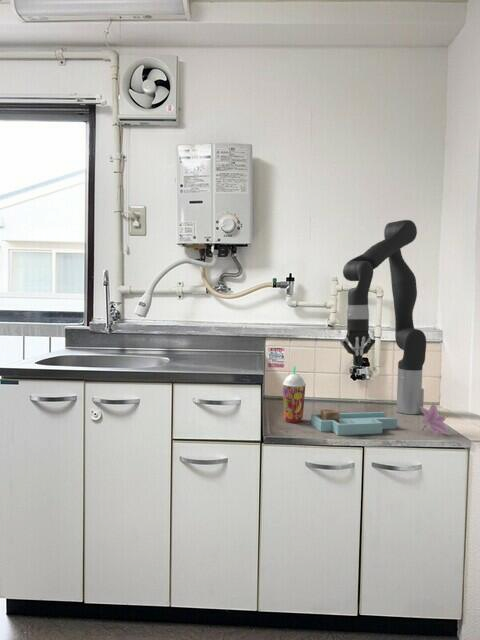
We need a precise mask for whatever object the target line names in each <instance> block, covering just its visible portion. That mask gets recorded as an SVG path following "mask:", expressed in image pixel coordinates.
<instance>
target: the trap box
mask: <svg viewBox="0 0 480 640" xmlns="http://www.w3.org/2000/svg"><path fill="white" fill-rule="evenodd" d="M320 415H321V413H313V414H310V425H312V427H314V428H315V429H317V430H318V431H319V432H321V433H323V432H333V433H334V434H336V435H337V436H351V435H352V436H353V435H354V436H355V435H373V434H374V435H376V434H378V435H379V434H383V430H391V429H392V430H393V429H397V428H398V418H397V417H386V416H385V415H386V412H385V411H371V412H369V411H368V412H367V411H366V412H342V413H341V412H339V423H337V422H336V421H334V420H326V421H323V420H321V419H320Z"/></svg>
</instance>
